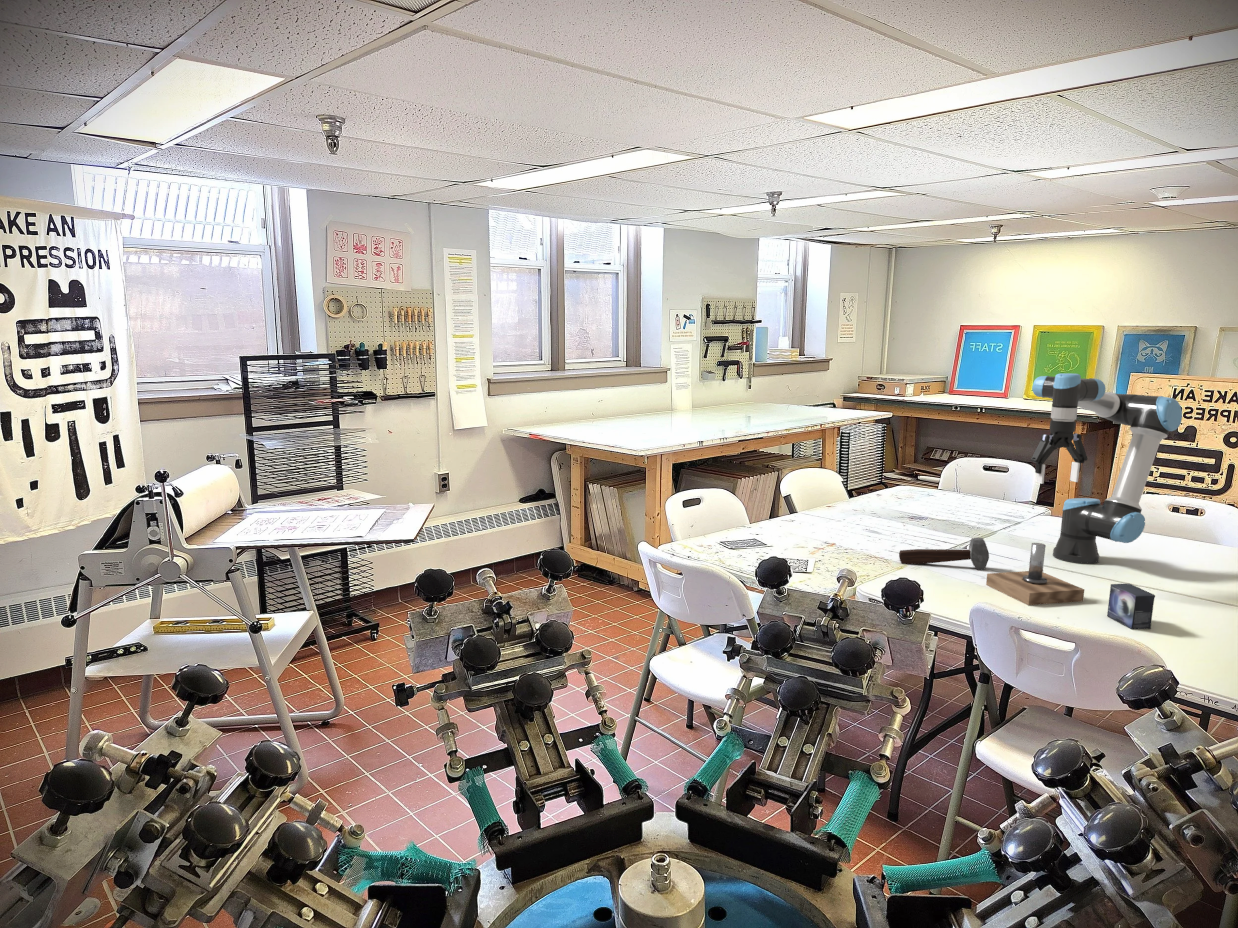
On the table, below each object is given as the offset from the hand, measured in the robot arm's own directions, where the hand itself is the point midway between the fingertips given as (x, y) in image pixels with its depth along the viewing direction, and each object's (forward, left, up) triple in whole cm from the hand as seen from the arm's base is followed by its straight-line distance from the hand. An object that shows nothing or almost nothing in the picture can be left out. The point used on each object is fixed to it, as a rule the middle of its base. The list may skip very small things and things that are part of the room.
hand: (1056, 482), depth 262 cm
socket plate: (+15, +12, -34) cm, 39 cm away
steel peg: (+15, +12, -34) cm, 39 cm away
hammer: (+26, -20, -35) cm, 48 cm away
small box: (+6, +40, -35) cm, 53 cm away
